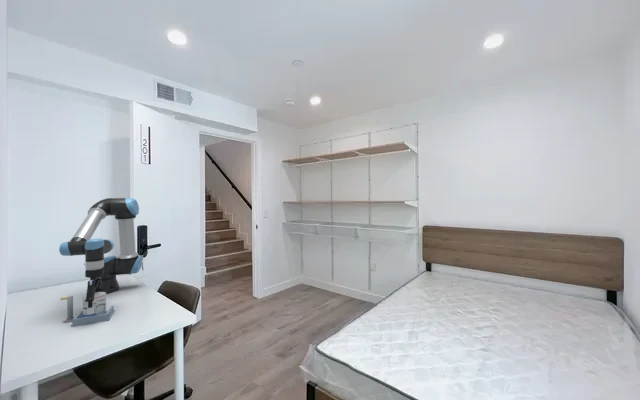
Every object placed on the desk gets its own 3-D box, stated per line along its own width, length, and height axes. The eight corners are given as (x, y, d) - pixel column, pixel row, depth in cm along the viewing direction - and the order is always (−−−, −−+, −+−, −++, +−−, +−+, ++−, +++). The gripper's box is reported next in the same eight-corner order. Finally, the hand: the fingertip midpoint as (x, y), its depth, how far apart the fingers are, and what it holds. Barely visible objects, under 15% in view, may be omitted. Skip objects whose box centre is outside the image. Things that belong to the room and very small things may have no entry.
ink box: (89, 320, 135) (89, 297, 135) (82, 319, 136) (82, 296, 136) (106, 313, 143) (106, 291, 143) (99, 312, 144) (99, 291, 145)
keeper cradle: (63, 319, 138) (63, 295, 139) (114, 311, 148) (114, 289, 149) (52, 330, 127) (52, 304, 127) (109, 320, 137) (109, 296, 137)
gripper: (92, 264, 149) (92, 301, 149) (77, 275, 127) (77, 319, 127) (109, 262, 153) (109, 299, 153) (97, 273, 131) (97, 316, 130)
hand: (94, 308), depth 140 cm, fingers open, 13 cm apart
